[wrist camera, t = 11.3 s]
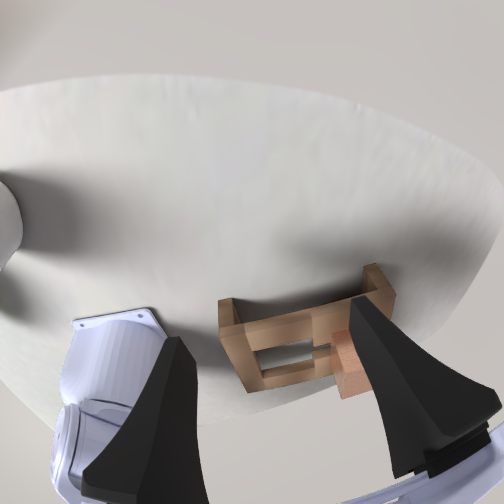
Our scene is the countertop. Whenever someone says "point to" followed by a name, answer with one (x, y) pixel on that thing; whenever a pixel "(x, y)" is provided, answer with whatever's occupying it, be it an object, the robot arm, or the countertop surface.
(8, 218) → the can
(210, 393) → the countertop surface
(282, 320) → the keyhole plate
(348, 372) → the peg
